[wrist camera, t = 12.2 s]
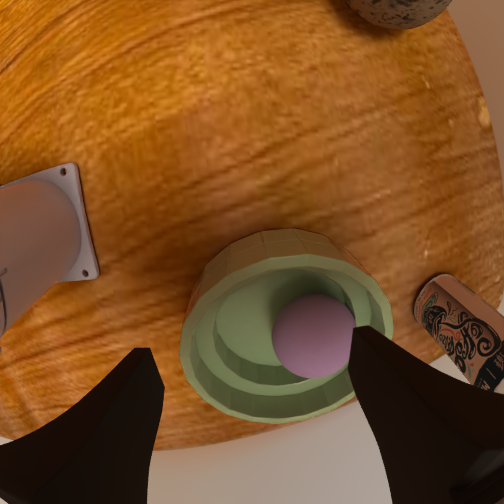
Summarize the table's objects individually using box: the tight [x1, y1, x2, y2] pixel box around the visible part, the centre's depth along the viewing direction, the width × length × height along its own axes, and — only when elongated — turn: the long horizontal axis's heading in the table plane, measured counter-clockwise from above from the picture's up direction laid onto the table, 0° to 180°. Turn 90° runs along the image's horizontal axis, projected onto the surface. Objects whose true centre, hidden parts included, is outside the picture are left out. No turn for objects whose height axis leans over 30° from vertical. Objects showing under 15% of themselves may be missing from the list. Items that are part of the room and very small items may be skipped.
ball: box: [272, 294, 356, 378], centre depth 17 cm, size 5×5×5 cm
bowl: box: [179, 228, 394, 423], centre depth 18 cm, size 12×12×5 cm
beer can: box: [414, 274, 504, 394], centre depth 15 cm, size 5×5×12 cm
